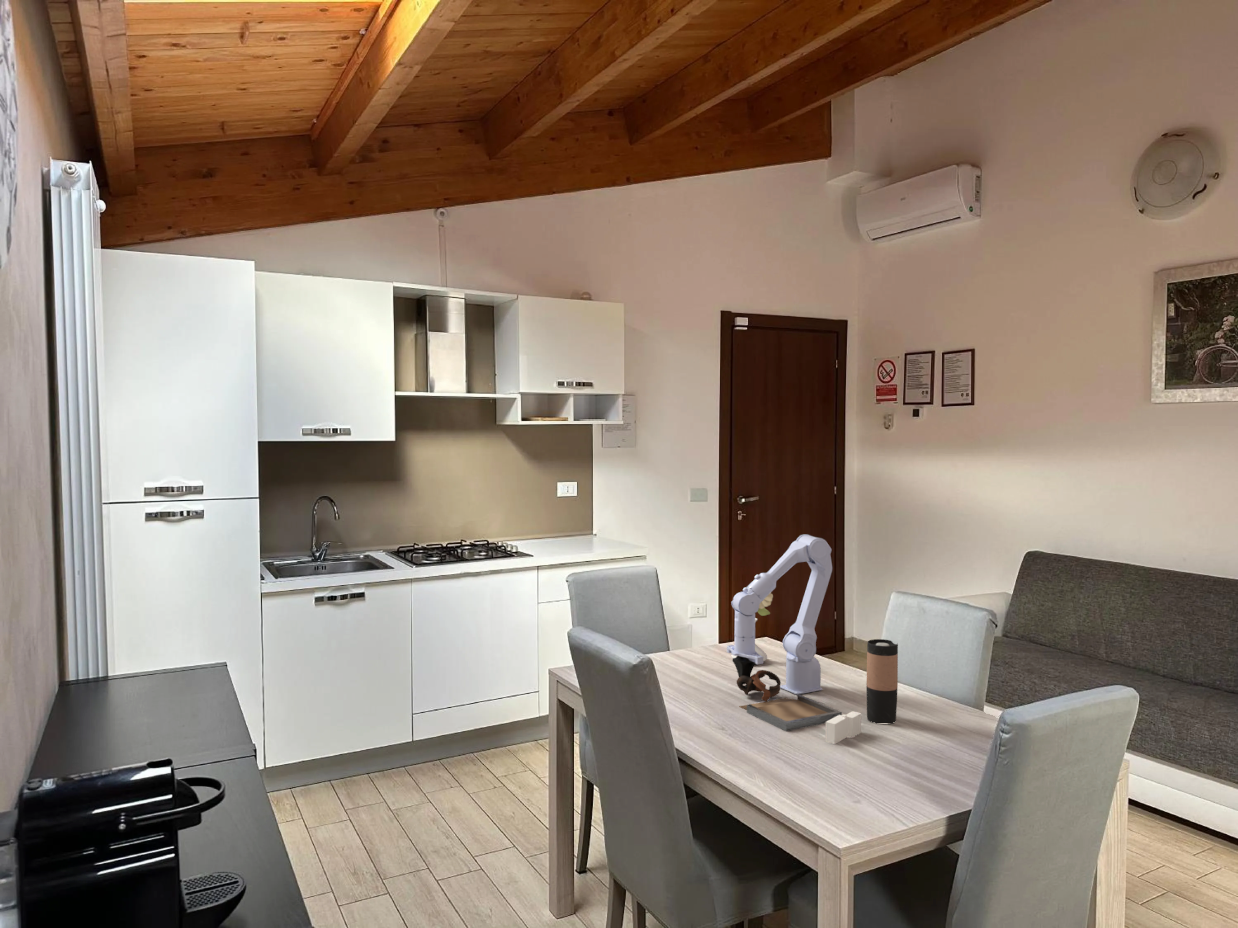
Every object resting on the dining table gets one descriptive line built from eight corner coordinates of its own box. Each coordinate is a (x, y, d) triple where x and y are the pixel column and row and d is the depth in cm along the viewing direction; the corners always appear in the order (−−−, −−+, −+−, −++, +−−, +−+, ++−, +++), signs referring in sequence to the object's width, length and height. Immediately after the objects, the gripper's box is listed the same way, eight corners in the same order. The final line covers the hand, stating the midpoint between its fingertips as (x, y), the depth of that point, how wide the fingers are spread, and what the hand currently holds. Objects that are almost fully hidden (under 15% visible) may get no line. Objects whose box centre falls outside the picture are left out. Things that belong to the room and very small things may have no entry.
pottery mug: (769, 691, 251) (780, 669, 247) (775, 715, 243) (786, 693, 239) (730, 683, 249) (739, 661, 246) (734, 707, 241) (744, 684, 237)
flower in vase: (728, 664, 278) (728, 585, 276) (734, 655, 288) (734, 579, 287) (770, 668, 274) (770, 588, 273) (774, 658, 285) (775, 581, 283)
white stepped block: (826, 749, 207) (826, 725, 207) (807, 732, 218) (808, 710, 218) (886, 745, 210) (886, 721, 209) (864, 729, 221) (865, 706, 221)
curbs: (800, 701, 241) (800, 694, 241) (841, 719, 226) (841, 711, 226) (746, 712, 232) (746, 704, 232) (786, 731, 218) (786, 723, 218)
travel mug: (862, 721, 225) (864, 644, 224) (869, 712, 232) (870, 637, 231) (893, 726, 221) (895, 647, 220) (899, 717, 228) (900, 641, 227)
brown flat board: (785, 700, 245) (785, 694, 245) (835, 721, 227) (835, 715, 227) (738, 709, 237) (738, 703, 237) (786, 732, 219) (786, 725, 219)
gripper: (718, 631, 252) (717, 678, 252) (748, 642, 239) (748, 692, 240) (738, 628, 255) (737, 675, 256) (769, 639, 242) (769, 688, 243)
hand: (744, 683), depth 248 cm, fingers closed
